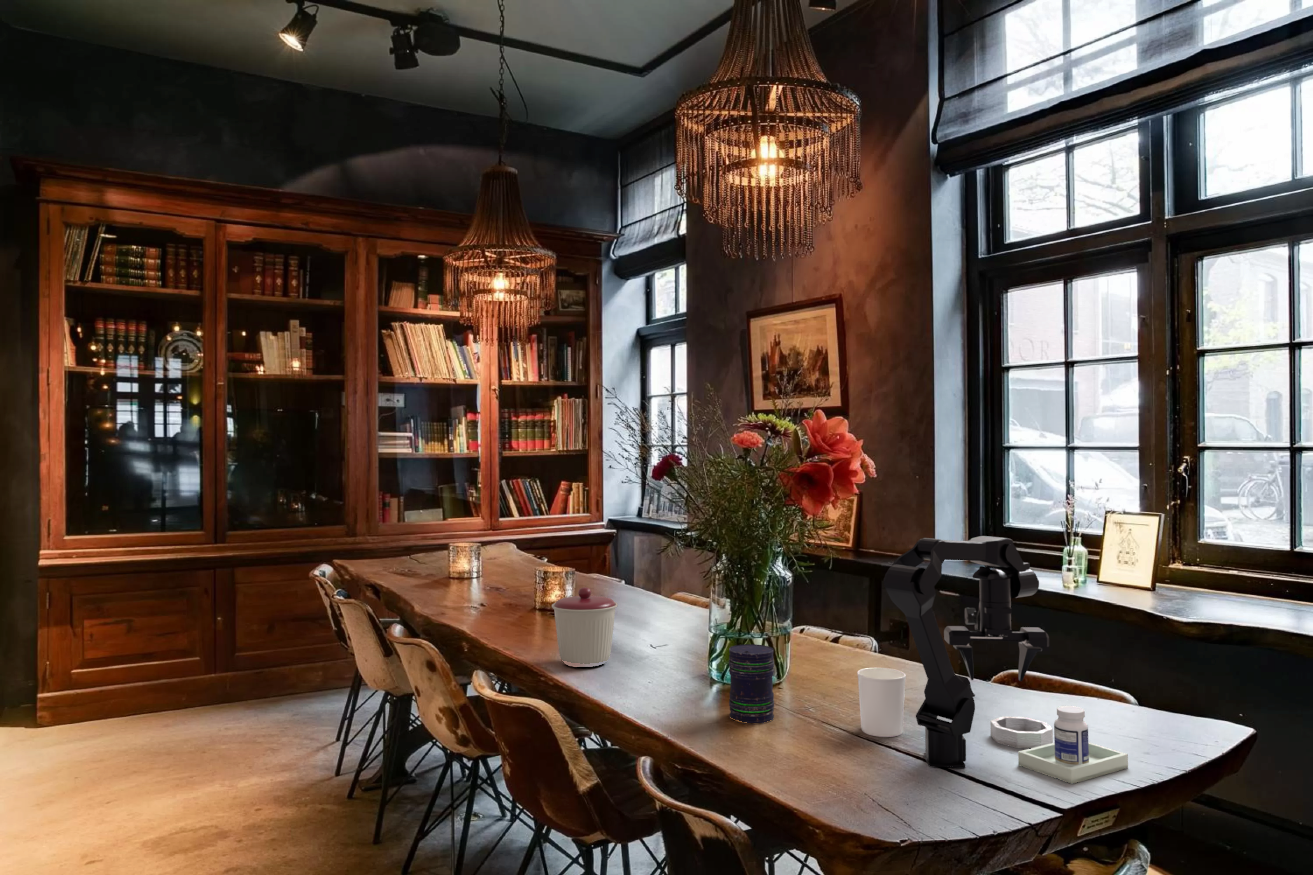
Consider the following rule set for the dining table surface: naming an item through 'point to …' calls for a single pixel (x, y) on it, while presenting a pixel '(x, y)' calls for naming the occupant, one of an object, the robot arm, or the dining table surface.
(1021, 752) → the sage tray
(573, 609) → the canister
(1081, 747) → the pill bottle
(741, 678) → the storage jar
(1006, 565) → the robot arm
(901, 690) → the candle holder
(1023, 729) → the steel collar
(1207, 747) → the dining table surface
